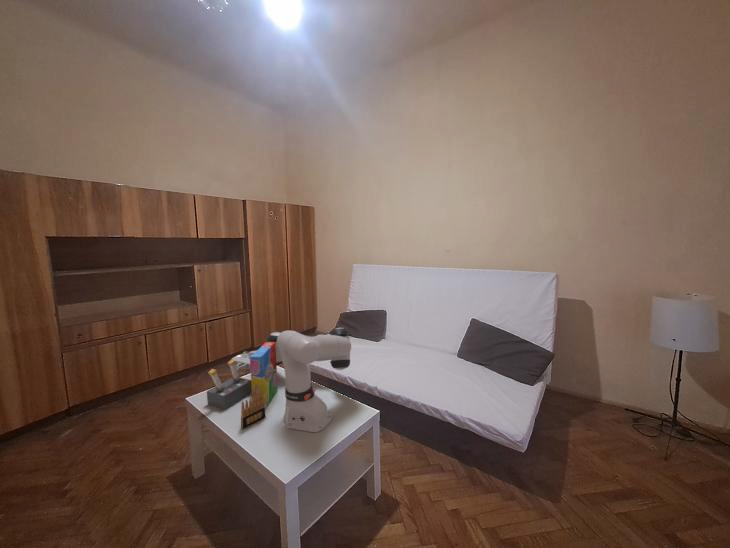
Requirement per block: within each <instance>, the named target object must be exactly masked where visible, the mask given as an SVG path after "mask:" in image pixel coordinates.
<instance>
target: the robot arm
mask: <svg viewBox="0 0 730 548" xmlns="http://www.w3.org/2000/svg"><path fill="white" fill-rule="evenodd" d="M265 339H266V341H265V342H275V343H276V365H277V366H280V365H283V368H284V376H285V377H284V378H285V388H284V390H285V391H284V396H285V411H284V415H283V422H284V428H285V429H290V430H297V431H302V432H303V431H304V432H310V433H318V432H320V431H322V430H324V429H326V427H327V426H329V424H330V423H331V422H332V420H333V418H334V416H333V412H332V411H329V410H328V407H327V404H326V402H324V401H323V399H322V398H320V397H319V396H318V395H317V394H316V393H315V392H316V391H317V390H316V389H317V387H315V388H314V387H313V385H312V382H311V381H312V380H311V368H310V365H309V364H312V363H314V362H325V361H329V363H330V365H331V368H332V369H334V370H339V371H342V370H345V369H347V368H349V366H350V365H351V350H352V343H351V341H350V333H349V330H348V329H347V328H344V327H336V328H334V329H332V330H331V332H330V334H317V335H315V336H314V335H313V336H310V335H304V334H303V333H300V332H298V331H296V330H284V331H282V332H278V331H275V332H271V333H270V334H268V335H267V338H265ZM257 350H258V349H257ZM257 350H256V349H255V350H251V351H250V350H249V351H243V353H241V354H238V355H236V356H234V357H232V358H231V359H230V360H235V362H236V363H235V365H236V368H237V372H238V371H239V372H240V371H242V370H250V371H251V368H250V357H251V356H252V355H253V354H254V353H255V352H256V351H257Z"/></svg>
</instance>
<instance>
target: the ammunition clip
mask: <svg viewBox="0 0 730 548" xmlns="http://www.w3.org/2000/svg"><path fill="white" fill-rule="evenodd" d="M240 414H241V416H240V427H241V429H242V430H245V429H247V428H248V427H251V426H253V425H255V424H257V423H259V422H260V421H263V420H264V419H266V418H267V417H266V409H265V407H264V401H263V395H262V393H261V396H260V400H259V395H257V404H256V399H255V397H253V406H252V397H250V398H249V401H248V399H246V400H245V403H244V401H242V402H241V411H240Z"/></svg>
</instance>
